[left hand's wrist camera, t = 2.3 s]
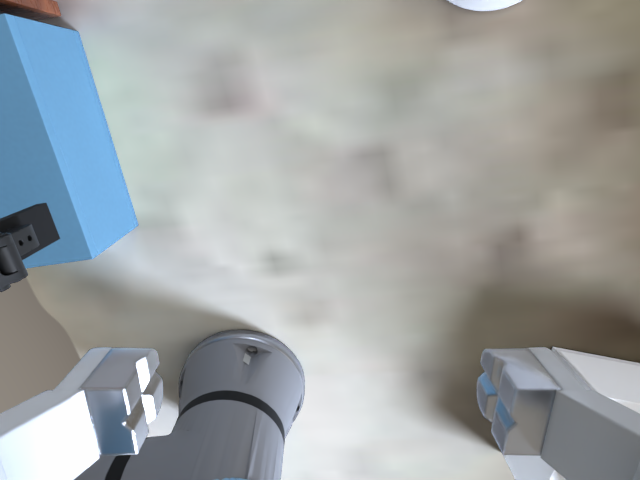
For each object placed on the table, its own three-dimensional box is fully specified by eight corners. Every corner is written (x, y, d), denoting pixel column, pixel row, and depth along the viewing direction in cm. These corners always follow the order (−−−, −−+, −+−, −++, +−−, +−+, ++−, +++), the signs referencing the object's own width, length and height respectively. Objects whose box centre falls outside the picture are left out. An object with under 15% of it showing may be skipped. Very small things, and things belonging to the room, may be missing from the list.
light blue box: (-31, 49, 40) (-136, 37, 30) (78, 31, 39) (4, 12, 30) (44, 239, 46) (-25, 275, 37) (138, 225, 45) (93, 259, 36)
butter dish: (621, 474, 57) (728, 609, 42) (498, 453, 56) (563, 585, 41) (685, 370, 52) (834, 484, 37) (549, 344, 50) (645, 452, 35)
